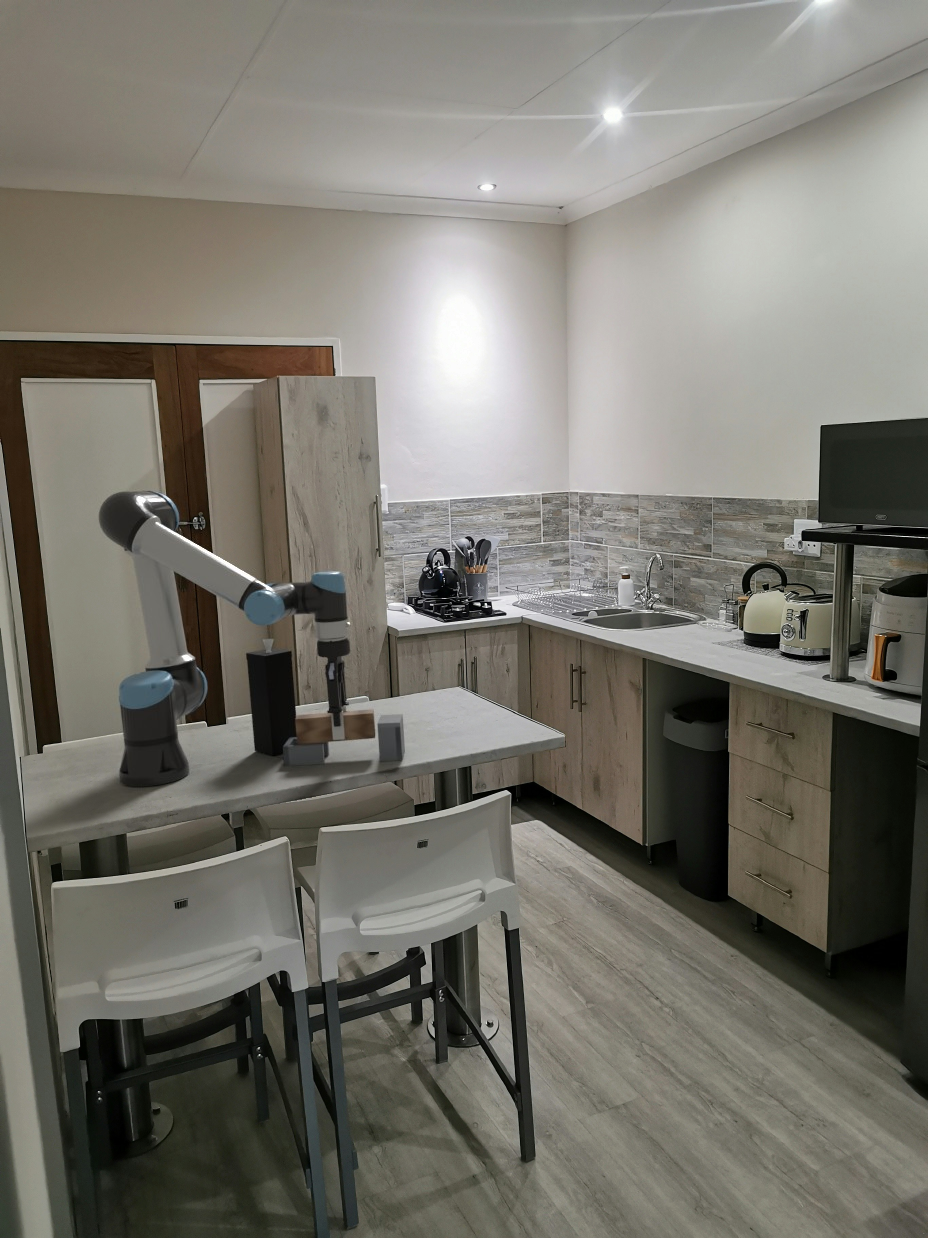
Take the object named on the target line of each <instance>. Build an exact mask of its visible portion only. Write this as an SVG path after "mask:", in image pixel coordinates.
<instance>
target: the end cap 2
mask: <svg viewBox="0 0 928 1238" xmlns="http://www.w3.org/2000/svg"><path fill="white" fill-rule="evenodd" d="M403 717H404V715H403V713H398V714H396V713H395V714H380V716H379V719H378V721H377V724H376V725H377V736H378V737H377V738H378V752H379V753H378V754H379V762H393V761H395V762H397V761H403V760H404V755H405V751H406V749H405V748H406V746H405V735H404V734H405V732H404V729H405V728H404V718H403Z"/></svg>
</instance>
